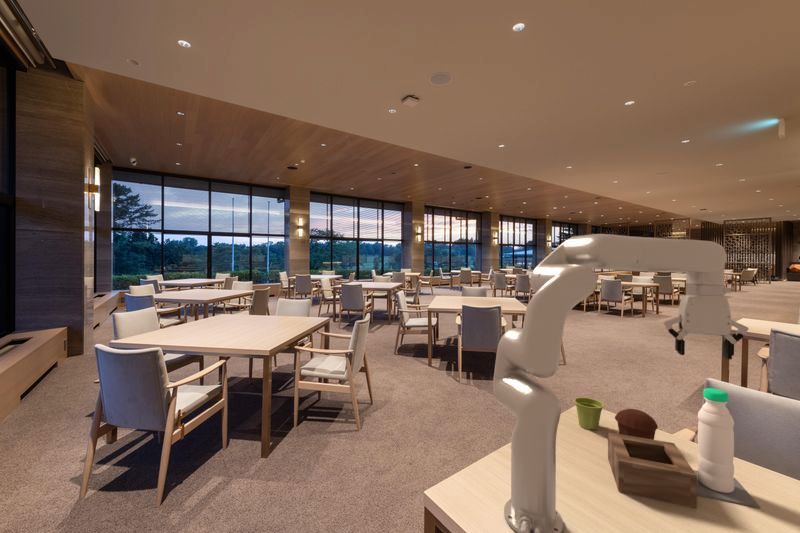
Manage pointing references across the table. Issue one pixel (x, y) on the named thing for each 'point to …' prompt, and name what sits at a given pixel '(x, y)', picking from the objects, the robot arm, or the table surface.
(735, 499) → the mat
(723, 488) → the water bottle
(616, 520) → the table surface
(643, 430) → the muffin
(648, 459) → the slot box
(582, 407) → the plant pot
